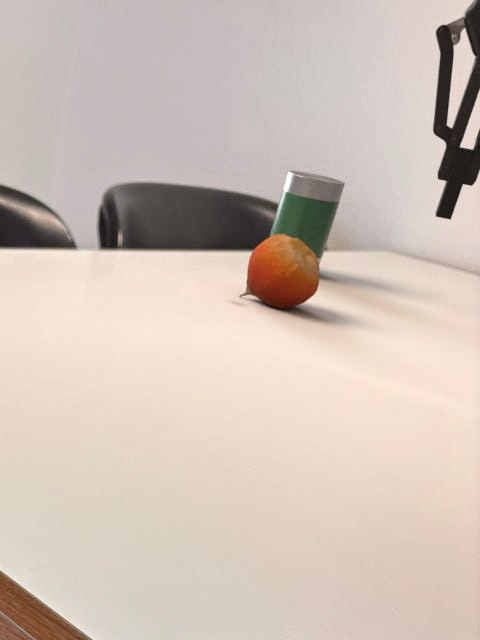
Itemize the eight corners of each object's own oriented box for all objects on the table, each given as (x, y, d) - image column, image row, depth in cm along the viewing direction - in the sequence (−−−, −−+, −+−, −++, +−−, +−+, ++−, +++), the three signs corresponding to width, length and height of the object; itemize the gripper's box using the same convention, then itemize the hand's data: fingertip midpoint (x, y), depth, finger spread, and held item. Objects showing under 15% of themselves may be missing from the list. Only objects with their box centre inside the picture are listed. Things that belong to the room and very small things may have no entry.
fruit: (242, 272, 121) (295, 218, 116) (287, 325, 120) (342, 273, 115) (215, 279, 115) (269, 222, 110) (261, 335, 114) (318, 280, 109)
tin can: (318, 270, 140) (346, 181, 134) (314, 279, 134) (344, 186, 128) (265, 257, 141) (290, 168, 135) (259, 265, 135) (285, 172, 129)
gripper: (464, -65, 97) (379, 208, 110) (614, -42, 95) (510, 234, 107) (460, -57, 104) (380, 200, 116) (601, -36, 101) (504, 224, 113)
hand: (443, 216), depth 111 cm, fingers closed
